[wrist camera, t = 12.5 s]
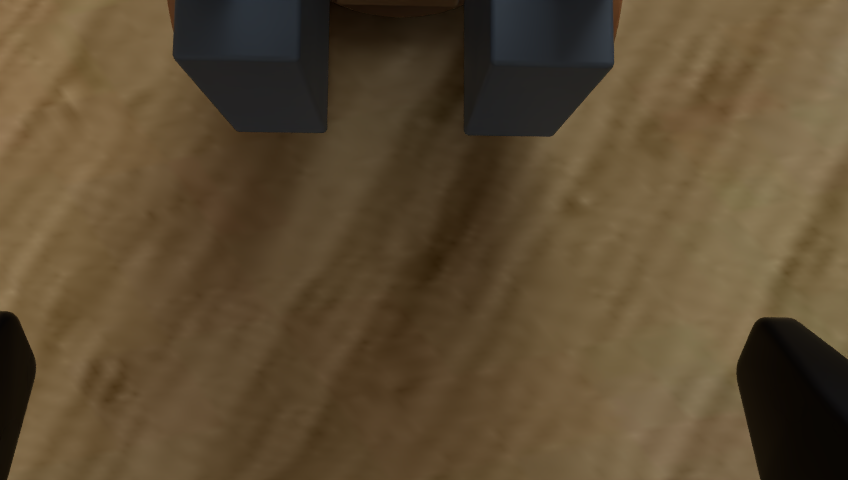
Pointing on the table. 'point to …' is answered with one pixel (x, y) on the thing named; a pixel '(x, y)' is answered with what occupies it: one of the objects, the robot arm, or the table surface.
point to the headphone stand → (400, 7)
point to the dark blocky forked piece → (309, 51)
